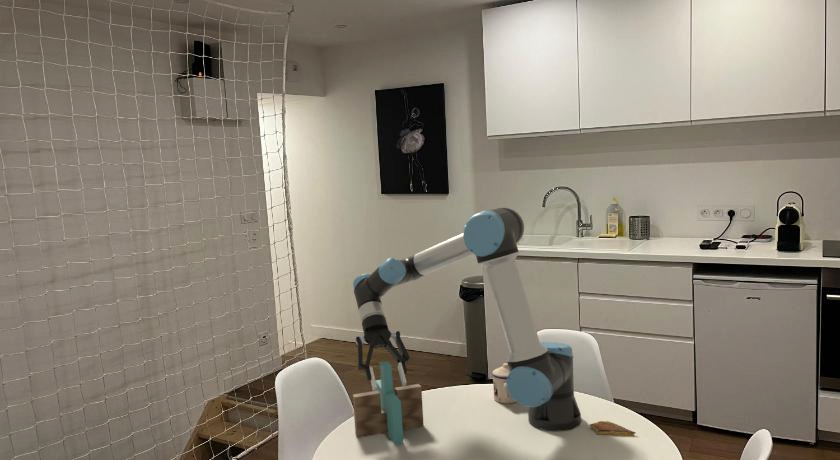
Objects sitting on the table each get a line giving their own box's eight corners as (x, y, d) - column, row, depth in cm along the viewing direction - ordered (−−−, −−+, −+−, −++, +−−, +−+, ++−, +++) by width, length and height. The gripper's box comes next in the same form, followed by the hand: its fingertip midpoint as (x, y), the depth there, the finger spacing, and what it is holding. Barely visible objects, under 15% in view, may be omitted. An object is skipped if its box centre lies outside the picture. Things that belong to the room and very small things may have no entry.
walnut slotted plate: (421, 422, 188) (418, 383, 186) (423, 425, 185) (421, 386, 184) (355, 434, 182) (352, 394, 181) (357, 437, 179) (354, 397, 178)
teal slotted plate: (377, 418, 193) (373, 355, 191) (385, 416, 193) (381, 353, 191) (394, 444, 174) (390, 374, 172) (403, 442, 174) (398, 373, 172)
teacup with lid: (494, 393, 208) (492, 359, 207) (522, 394, 206) (520, 359, 205) (491, 407, 196) (490, 371, 195) (521, 408, 195) (519, 371, 193)
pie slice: (636, 437, 171) (635, 431, 171) (616, 444, 167) (615, 438, 167) (606, 424, 180) (605, 418, 180) (586, 431, 176) (586, 425, 176)
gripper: (404, 322, 198) (422, 387, 185) (338, 330, 192) (352, 398, 179) (407, 309, 193) (427, 375, 179) (340, 317, 187) (355, 386, 173)
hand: (389, 386), depth 179 cm, fingers open, 8 cm apart
